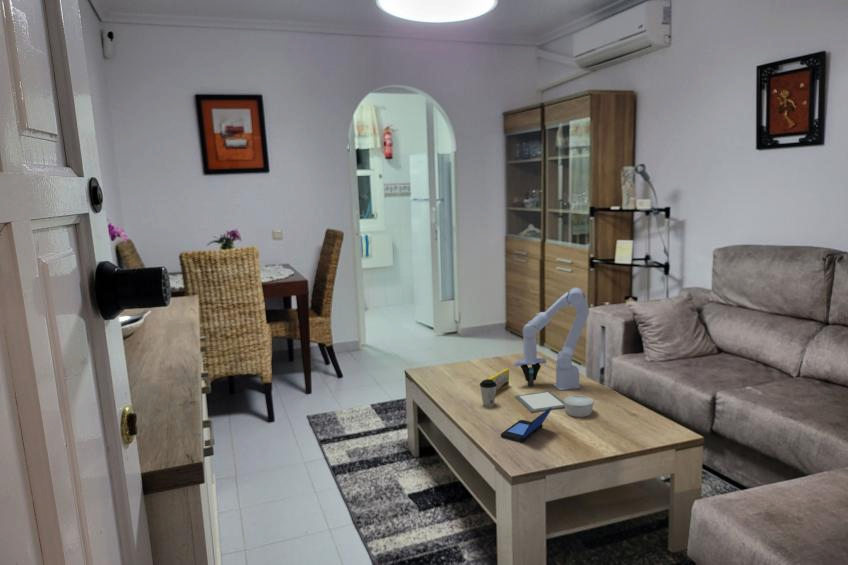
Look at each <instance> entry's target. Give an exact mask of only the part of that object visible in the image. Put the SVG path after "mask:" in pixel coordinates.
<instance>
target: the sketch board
mask: <svg viewBox="0 0 848 565" xmlns="http://www.w3.org/2000/svg"><path fill="white" fill-rule="evenodd" d="M514 398H515V399H516V400H517V401H518V402H519V403H521V404H522V405H523V406H524V407H525V408H526V409H527V410H528V411H529V412H530V413H532V414H533V413H542V412H545V411H546V410H548V409H549V408H552V409H551V411H554V410H555V411H556V410H562V409H565V404H564V400H562V399H561V398H559V397H558V396H557V395H555V394H554V393H553V392H552V391H550V390H547V391H541V392H533V393H525V394H519V395H514Z"/></svg>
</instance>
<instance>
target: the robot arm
mask: <svg viewBox="0 0 848 565" xmlns="http://www.w3.org/2000/svg"><path fill="white" fill-rule="evenodd" d="M587 300H588V299H587V296H586V294H585V292H584V291H583V290H582V288H580V287H577V286H576V287H572V288H571V289H570V290H569V291H567V292H565V293H564V294H563V295H562V296H560V297H559V298H558V299H557V300H556V301H555V302H554V303H553V304H552V305H551V306H550V307H549V308H547V310H545V311H540V312H539V313H538V312H537V313H535V316H534V317H533V318H532V319H531V320H528V322H527V323H526V324H525V325H524V326H523V328H522V336H523V341H522V342H523V344H522V346H523V347H522V348H523V350H522V351H523V359H520V360H516V361H514V362H513V365H514V367H515V368H518V367H520V368H521V370H522V373H523V375H524V379H525V381H526V382H528V381H529V367H530V365H531V367H533V368H534V381H537V376H538V374H539V371H540V369H541V368H542V366H541V364H547V359H546V358H545V357H538V356H537V353H538V351H537V337H536V336H537V332H540V331H541V330H542V329H543V328H544V327H546V326H547V324H549V323H550V322H551V321H550V320H551V317H553V316H554V315H555V314H556V313H557V312H559V311H560V310H561V309H562V308H564V307H570V306H572V307H574V310H575V311H576V315H575V317H574V321H573V322H572V325H571V326H570V327H571V328H570V329H569V331H568V332H569V333H568V335H567V337H566V340H565V342H564V345H563V347H562V349H561V350H560V351H558V352H557V358H556V365H555V373H556V374H555V375H556V376H555V377H556V378H555V379H556V382H555V383H552V385H553V386H554V387H555V388H557V390H559V391H565V390H574V389H580V388H581V387H580V371H579V368H578V367H577V365H573V363H572V360H573V356H574V351H575V348H576V347H577V344H578V341H579V339H580V337H581V335H582V332H583V329H584V326H585V324H586V323H587V319H588V316H589V314H590V309H589V304H588V301H587Z"/></svg>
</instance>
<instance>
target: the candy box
mask: <svg viewBox="0 0 848 565" xmlns="http://www.w3.org/2000/svg"><path fill="white" fill-rule="evenodd" d="M487 379H491V380H493V381H494V382H495V383H496V392H495V395H497V394H498V393H500V392H502V391H503V390H505V389H506V388H508V387H510V369H509V368H504V369H502V370H500V371H498V372H497V373H494V374H493V375H492V376H489V377H488V378H487Z"/></svg>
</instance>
